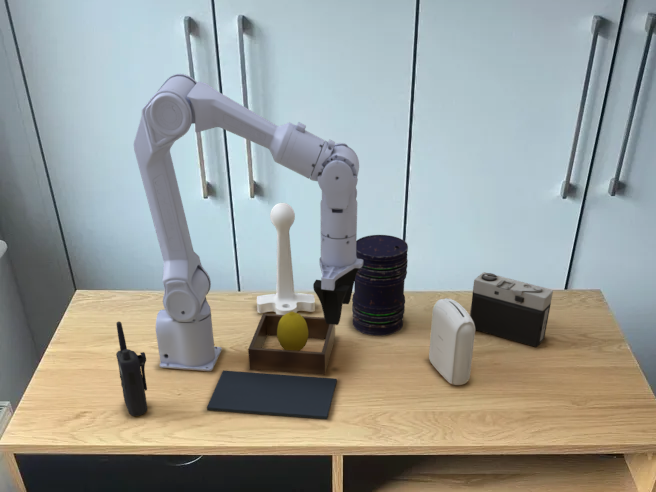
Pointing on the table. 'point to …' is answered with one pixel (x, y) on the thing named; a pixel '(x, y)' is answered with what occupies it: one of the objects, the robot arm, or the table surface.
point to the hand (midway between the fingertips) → (337, 312)
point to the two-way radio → (132, 376)
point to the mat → (273, 394)
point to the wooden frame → (291, 358)
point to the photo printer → (452, 341)
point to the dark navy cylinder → (380, 285)
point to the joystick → (284, 270)
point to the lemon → (292, 332)
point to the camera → (510, 308)
